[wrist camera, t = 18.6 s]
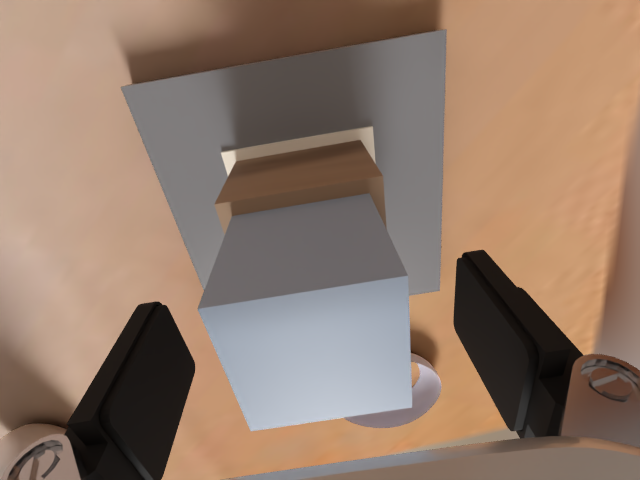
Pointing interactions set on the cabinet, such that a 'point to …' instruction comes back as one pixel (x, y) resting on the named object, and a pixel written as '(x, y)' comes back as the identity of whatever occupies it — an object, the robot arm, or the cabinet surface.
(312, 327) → the slate blue cube
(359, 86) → the building board
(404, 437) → the cabinet surface
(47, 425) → the plastic bottle
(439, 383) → the lavender ring
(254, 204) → the walnut block
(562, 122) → the cabinet surface
